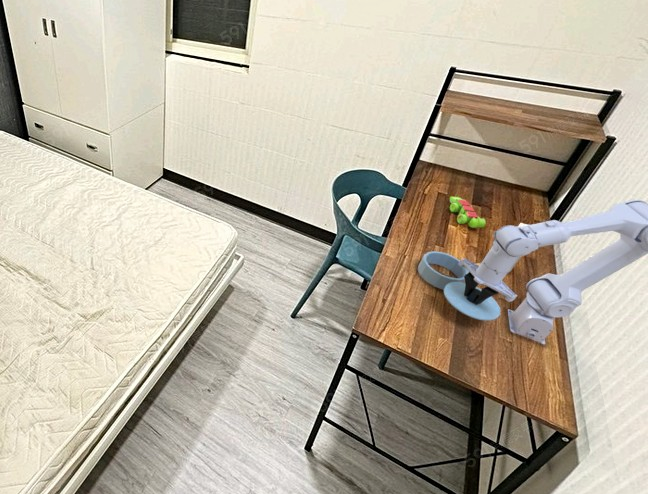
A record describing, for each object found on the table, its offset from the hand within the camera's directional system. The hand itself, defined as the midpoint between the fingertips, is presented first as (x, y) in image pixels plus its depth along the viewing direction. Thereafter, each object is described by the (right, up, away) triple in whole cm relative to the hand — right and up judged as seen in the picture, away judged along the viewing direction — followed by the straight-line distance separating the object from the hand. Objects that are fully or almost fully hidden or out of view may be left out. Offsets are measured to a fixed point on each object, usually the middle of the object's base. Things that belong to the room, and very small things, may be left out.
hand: (472, 298), depth 117 cm
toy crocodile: (+31, +20, +44) cm, 57 cm away
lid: (0, -1, 0) cm, 1 cm away
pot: (+3, +2, +17) cm, 18 cm away
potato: (+16, +3, +18) cm, 24 cm away
